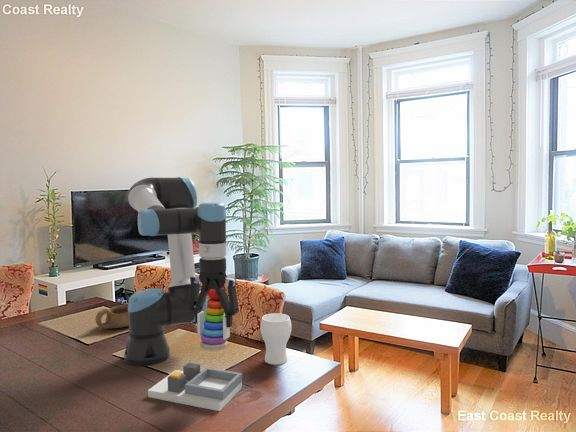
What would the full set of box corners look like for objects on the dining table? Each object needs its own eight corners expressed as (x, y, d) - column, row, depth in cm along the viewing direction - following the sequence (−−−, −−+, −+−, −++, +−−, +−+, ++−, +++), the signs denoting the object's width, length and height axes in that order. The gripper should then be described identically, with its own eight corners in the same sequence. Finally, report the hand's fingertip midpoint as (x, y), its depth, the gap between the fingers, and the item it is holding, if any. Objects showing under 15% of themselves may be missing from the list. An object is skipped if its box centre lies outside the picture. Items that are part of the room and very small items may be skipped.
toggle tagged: (167, 390, 124) (167, 375, 124) (173, 385, 127) (173, 370, 127) (180, 393, 123) (179, 377, 123) (185, 388, 126) (185, 372, 125)
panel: (148, 396, 125) (147, 388, 125) (175, 376, 138) (175, 368, 138) (219, 411, 117) (219, 402, 117) (242, 387, 130) (241, 379, 130)
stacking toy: (214, 354, 120) (215, 287, 119) (194, 348, 124) (195, 283, 124) (233, 346, 127) (235, 282, 126) (213, 341, 131) (214, 279, 130)
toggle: (183, 379, 131) (183, 366, 131) (188, 375, 134) (188, 362, 134) (195, 381, 130) (194, 368, 130) (200, 377, 133) (200, 364, 132)
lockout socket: (185, 393, 123) (184, 384, 123) (206, 375, 134) (206, 367, 134) (223, 400, 119) (223, 391, 119) (241, 381, 130) (241, 373, 130)
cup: (287, 367, 144) (288, 323, 143) (256, 365, 146) (256, 321, 145) (293, 355, 154) (294, 313, 153) (264, 352, 157) (264, 311, 155)
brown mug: (114, 333, 171) (108, 309, 172) (92, 337, 178) (86, 313, 178) (149, 320, 187) (143, 297, 187) (127, 324, 194) (122, 302, 194)
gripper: (174, 257, 123) (175, 336, 125) (239, 262, 116) (240, 345, 118) (188, 253, 130) (190, 327, 132) (251, 257, 123) (251, 335, 125)
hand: (213, 336), depth 125 cm, fingers closed on stacking toy, 7 cm apart
